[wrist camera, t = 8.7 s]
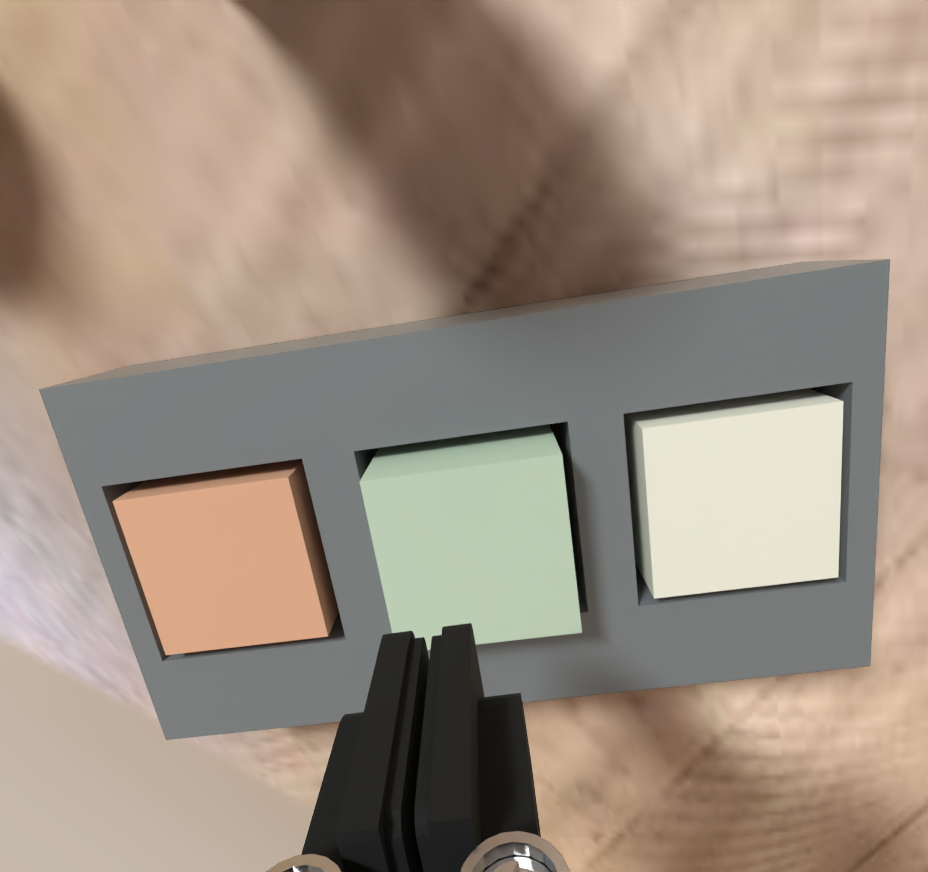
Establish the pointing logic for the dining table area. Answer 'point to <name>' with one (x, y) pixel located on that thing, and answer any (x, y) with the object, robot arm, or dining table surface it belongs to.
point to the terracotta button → (230, 557)
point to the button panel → (489, 410)
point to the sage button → (474, 535)
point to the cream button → (736, 492)
